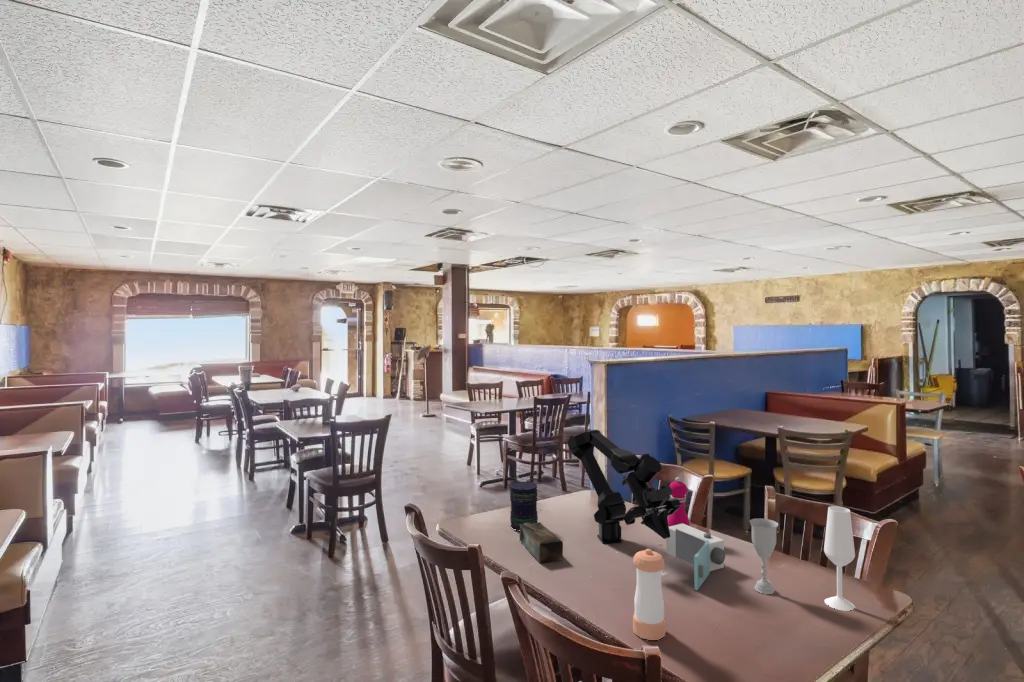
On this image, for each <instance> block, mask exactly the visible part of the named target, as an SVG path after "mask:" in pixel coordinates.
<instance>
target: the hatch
mask: <svg viewBox="0 0 1024 682" xmlns="http://www.w3.org/2000/svg"><path fill="white" fill-rule="evenodd" d="M693 568H694V569H693V572H694V574H693V578H694V580H693V581H694V585H693V586H694V591H698V590H700V588H701V586H702V585H703V583H704V582H705V581H706V579H707V578H708V576H710V574H711V571H710V561H709V542H706V543H705V544H704V545H703V546H702V547H701V549H700V550H699V551H698V552H697V553H696V554H695V556H694V566H693Z"/></svg>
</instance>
